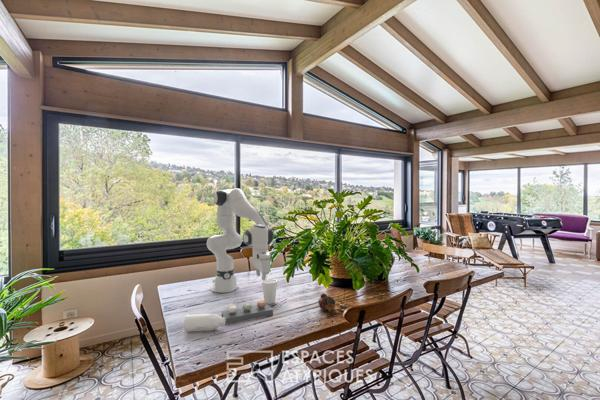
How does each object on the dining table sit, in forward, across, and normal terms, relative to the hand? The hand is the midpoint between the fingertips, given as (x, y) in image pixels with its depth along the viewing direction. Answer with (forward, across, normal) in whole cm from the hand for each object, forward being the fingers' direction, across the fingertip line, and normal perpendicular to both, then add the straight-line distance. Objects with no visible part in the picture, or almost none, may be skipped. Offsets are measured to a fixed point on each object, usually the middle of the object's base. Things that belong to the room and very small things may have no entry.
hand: (260, 277), depth 159 cm
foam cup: (+20, -14, +10) cm, 27 cm away
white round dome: (+18, 0, -16) cm, 24 cm away
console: (+20, 0, -8) cm, 21 cm away
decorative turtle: (+20, +13, +35) cm, 42 cm away
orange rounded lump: (+18, 0, 0) cm, 18 cm away
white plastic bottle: (+20, +6, -31) cm, 38 cm away
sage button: (+18, 0, -8) cm, 20 cm away
